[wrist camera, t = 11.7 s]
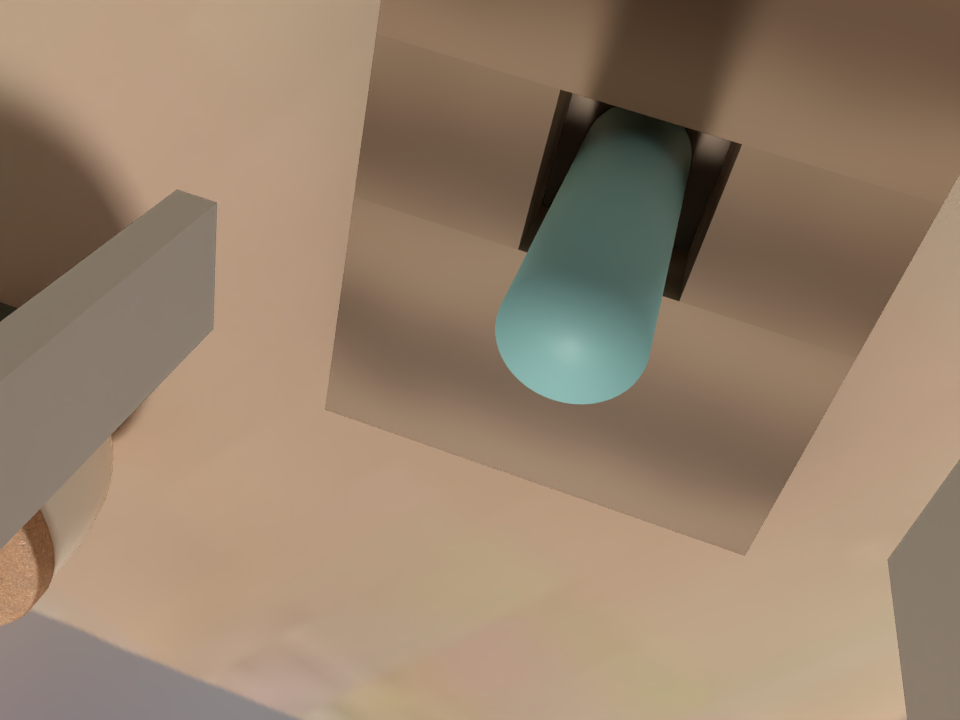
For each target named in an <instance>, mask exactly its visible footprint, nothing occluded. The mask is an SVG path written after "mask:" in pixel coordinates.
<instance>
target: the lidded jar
mask: <svg viewBox="0 0 960 720" xmlns="http://www.w3.org/2000/svg"><path fill="white" fill-rule="evenodd" d="M112 470H113V443H112V437H111V436H110V437H109V438H108V439H107V440H106V441H105V442H104V443H103V444H102V445H101V446H100V447H99V448H98V449H97V450H96V451H95V452H94V453H93V454H92V455H91V456H90V457H89V458H88V459H87V461H86V462H85V463H84V464H83V465H82V466H81V467H80V468H79V469H78V470H77V471H76V472H75V473H74V474H73V475H72V476H71V477H70V478H69V479H68V480H67V481H66V482H65V483H64V484H63V485H62V486H61V488H60V489H59V490H58V491H57V492H56V493H55V494H54V495H53V496H52V497H51V498H50V499H49V500H48V501H47V502H46V503H45V504H44V505H43V506H42V507H41V508H40V509H39V510H38V511H37V512H36V514H35V515H34V516H33V517H32V518H31V519H30V520H29V521H28V522H27V523H26V524H25V525H24V526H23V527H22V528H21V529H20V530H19V531H18V532H17V533H16V534H15V535H14V536H13V537H12V538H11V540H10V541H9V542H8V543H7V544H6V545H5V546H4V547H3V548H2V549H1V550H0V625H4V624H7V623H10V622H12V621H16V620H17V619H19V618H20V617H22V616H23V615H25V614H26V613H27V612H28V611H29V610H30V609H31V608H32V607H33V605H34V604H35V603H36V602H37V601H38V600H39V598H40V597H41V596H42V595H43V594H44V592H45V591H46V590H47V588H48V587H49V584H50V582H51V580H52V579H53V578H54V577H55V575H56V574H57V573H58V572H59V571H60V570H61V568H62V567H63V566H64V565H65V564H66V562H67V561H68V560H69V559H70V557H71V556H72V555H73V554H74V552H75V551H76V550H77V549H78V548H79V546H80V545H81V543H82V542H83V540H84V538H85V537H86V535H87V534H88V532H89V531H90V529H91V528H92V526H93V524H94V522H95V520H96V518H97V516H98V514H99V512H100V510H101V508H102V506H103V503H104V501H105V499H106V496H107V492H108V489H109V486H110V482H111V476H112Z"/></svg>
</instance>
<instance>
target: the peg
mask: <svg viewBox="0 0 960 720" xmlns="http://www.w3.org/2000/svg"><path fill="white" fill-rule="evenodd" d="M691 159H692V148H691V142H690V139H689V135H688V133H687V131H686V129H685V128H684V127H683V126H680V125H677V124H673V123H670V122H667V121H663V120H660V119H657V118H653V117H650V116H647V115H643V114H640V113H637V112H633V111H630V110H627V109H624V108H620V107H617V106H614V107H612V108H610V109H609V110H607V111H606V112H604V113H603V114H602V115H601V116H599V117H598V118H597V120H596V121H595V122H594V123H593V125H592V126H591V128H590V129H589V131H588V133H587V135H586V137H585V139H584V141H583V143H582V145H581V147H580V149H579V151H578V153H577V155H576V157H575V159H574V161H573V163H572V165H571V167H570V169H569V171H568V173H567V175H566V177H565V179H564V181H563V183H562V185H561V187H560V189H559V191H558V193H557V195H556V197H555V199H554V201H553V203H552V205H551V207H550V209H549V211H548V212H547V214H546V216H545V218H544V220H543V222H542V224H541V226H540V228H539V230H538V232H537V234H536V236H535V238H534V240H533V242H532V244H531V246H530V248H529V250H528V252H527V254H526V256H525V258H524V260H523V262H522V264H521V266H520V268H519V270H518V272H517V274H516V276H515V278H514V280H513V282H512V284H511V286H510V288H509V290H508V292H507V294H506V296H505V297H504V299H503V301H502V304H501V306H500V308H499V310H498V313H497V317H496V323H495V336H496V343H497V346H498V349H499V352H500V354H501V357H502V359H503V361H504V362H505V364H506V366H507V367H508V368H509V370H510V371H511V372H512V373H513V375H514V376H515V377H516V378H517V379H518V380H519V381H520V382H522V383H523V384H524V385H525V386H527V387H528V388H530V389H531V390H533V391H534V392H536V393H538V394H540V395H542V396H544V397H547V398H549V399H552V400H555V401H559V402H563V403H569V404H593V403H599V402H603V401H606V400H609V399H612V398H614V397H616V396H618V395H620V394H622V393H623V392H625V391H627V390H628V389H629V388H630V387H631V386H633V385H634V384H635V382H636V381H637V380H638V379H639V378H640V376H641V375H642V373H643V372H644V370H645V368H646V365H647V363H648V359H649V356H650V351H651V347H652V342H653V337H654V333H655V328H656V324H657V319H658V314H659V310H660V305H661V300H662V296H663V291H664V286H665V282H666V277H667V272H668V268H669V263H670V259H671V254H672V249H673V245H674V240H675V235H676V231H677V226H678V221H679V217H680V212H681V207H682V203H683V198H684V194H685V189H686V184H687V180H688V175H689V170H690V166H691Z"/></svg>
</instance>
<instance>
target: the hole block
mask: <svg viewBox="0 0 960 720" xmlns="http://www.w3.org/2000/svg"><path fill="white" fill-rule="evenodd" d="M572 93H574V94H577V95H581V96H584V97H587V98H590V99H594V100H597V101H600V102H604V103H607V104H610V105H614V106H617V107H620V108H624V109H627V110H630V111H633V112H637V113H640V114H643V115H647V116H650V117H653V118H657V119H660V120H663V121H667V122H670V123H673V124H677V125H680V126H683V127H686V128H690V129H693V130H696V131H700V132H703V133H706V134H710V135H713V136H716V137H720V138H723V139H726V140H729V141H732V142H731V145H730V147H729V150H728V152H727V155H726V157H725V160H724V163H723V165H722V168H721V170H720V173H719V175H718V178H717V180H716V183H715V186H714V188H713V191H712V193H711V196H710V198H709V201H708V203H707V206H706V208H705V211H704V214H703V216H702V219H701V221H700V224H699V226H698V229H697V231H696V234H695V236H694V239H693V242H692V244H691V247H690V249H689V252H687V251H684V250H681V249H677V248H674V247H673V249H672V254H671V259H670V263H669V268H668V272H667V277H666V282H665V286H664V291H663V296H662V300H661V305H660V310H659V314H658V319H657V324H656V328H655V333H654V337H653V342H652V347H651V351H650V356H649V359H648V363H647V365H646V368H645V370H644V372H643V373H642V375H641V376H640V378H639V379H638V380H637V381H636V382H635V384H634V385H633V386H631V387H630V388H629V389H628V390H627V391H625V392H623V393H622V394H620V395H618V396H616V397H614V398H612V399H609V400H606V401H603V402H599V403H593V404H569V403H563V402H559V401H555V400H552V399H549V398H547V397H544V396H542V395H540V394H538V393H536V392H534V391H533V390H531V389H530V388H528V387H527V386H525V385H524V384H523V383H522V382H520V381H519V380H518V379H517V378H516V377H515V376H514V375H513V373H512V372H511V371H510V370H509V368H508V367H507V366H506V364H505V362H504V361H503V359H502V357H501V354H500V352H499V349H498V346H497V343H496V336H495V323H496V317H497V313H498V310H499V308H500V306H501V304H502V301H503V299H504V297H505V296H506V294H507V292H508V290H509V288H510V286H511V284H512V282H513V280H514V278H515V276H516V274H517V272H518V270H519V268H520V266H521V264H522V262H523V260H524V258H525V256H526V254H527V252H528V250H529V248H530V246H531V244H532V242H533V240H534V238H535V236H536V234H537V232H538V230H539V228H540V226H541V224H542V222H543V220H544V218H545V216H546V214H547V212H548V211H549V209H550V208H548V207H545V206H541V205H542V202H543V198H544V194H545V191H546V187H547V183H548V180H549V176H550V172H551V169H552V165H553V161H554V158H555V154H556V150H557V147H558V143H559V139H560V136H561V132H562V128H563V125H564V121H565V117H566V114H567V110H568V106H569V103H570V99H571V95H572ZM959 175H960V0H381V4H380V11H379V19H378V26H377V33H376V41H375V48H374V55H373V62H372V70H371V77H370V84H369V92H368V99H367V106H366V114H365V121H364V128H363V136H362V143H361V150H360V157H359V165H358V172H357V179H356V187H355V194H354V201H353V209H352V216H351V223H350V231H349V238H348V245H347V253H346V260H345V267H344V274H343V282H342V289H341V296H340V304H339V311H338V318H337V326H336V333H335V340H334V348H333V355H332V362H331V369H330V377H329V384H328V391H327V399H326V406H325V410H328V411H331V412H333V413H336V414H339V415H342V416H345V417H348V418H351V419H354V420H356V421H359V422H362V423H365V424H368V425H371V426H374V427H376V428H379V429H382V430H385V431H388V432H391V433H394V434H397V435H399V436H402V437H405V438H408V439H411V440H414V441H417V442H420V443H422V444H425V445H428V446H431V447H434V448H437V449H440V450H443V451H445V452H448V453H451V454H454V455H457V456H460V457H463V458H465V459H468V460H471V461H474V462H477V463H480V464H483V465H486V466H488V467H491V468H494V469H497V470H500V471H503V472H506V473H509V474H511V475H514V476H517V477H520V478H523V479H526V480H529V481H531V482H534V483H537V484H540V485H543V486H546V487H549V488H552V489H554V490H557V491H560V492H563V493H566V494H569V495H572V496H575V497H577V498H580V499H583V500H586V501H589V502H592V503H595V504H598V505H600V506H603V507H606V508H609V509H612V510H615V511H618V512H620V513H623V514H626V515H629V516H632V517H635V518H638V519H641V520H643V521H646V522H649V523H652V524H655V525H658V526H661V527H664V528H666V529H669V530H672V531H675V532H678V533H681V534H684V535H687V536H689V537H692V538H695V539H698V540H701V541H704V542H707V543H709V544H712V545H715V546H718V547H721V548H724V549H727V550H730V551H732V552H735V553H738V554H741V555H744V556H745V555H746V553H747V551H748V550H749V548H750V546H751V544H752V542H753V541H754V539H755V537H756V535H757V534H758V532H759V530H760V528H761V526H762V525H763V523H764V521H765V519H766V518H767V516H768V514H769V512H770V510H771V509H772V507H773V505H774V503H775V502H776V500H777V498H778V496H779V494H780V493H781V491H782V489H783V487H784V486H785V484H786V482H787V480H788V478H789V477H790V475H791V473H792V471H793V470H794V468H795V466H796V464H797V462H798V461H799V459H800V457H801V455H802V454H803V452H804V450H805V448H806V446H807V445H808V443H809V441H810V439H811V438H812V436H813V434H814V432H815V431H816V429H817V427H818V425H819V423H820V422H821V420H822V418H823V416H824V415H825V413H826V411H827V409H828V407H829V406H830V404H831V402H832V400H833V399H834V397H835V395H836V393H837V391H838V390H839V388H840V386H841V384H842V383H843V381H844V379H845V377H846V375H847V374H848V372H849V370H850V368H851V367H852V365H853V363H854V361H855V359H856V358H857V356H858V354H859V352H860V351H861V349H862V347H863V345H864V343H865V342H866V340H867V338H868V336H869V335H870V333H871V331H872V329H873V327H874V326H875V324H876V322H877V320H878V319H879V317H880V315H881V313H882V311H883V310H884V308H885V306H886V304H887V303H888V301H889V299H890V297H891V295H892V294H893V292H894V290H895V288H896V287H897V285H898V283H899V281H900V279H901V278H902V276H903V274H904V272H905V271H906V269H907V267H908V265H909V263H910V262H911V260H912V258H913V256H914V255H915V253H916V251H917V249H918V247H919V246H920V244H921V242H922V240H923V239H924V237H925V235H926V233H927V231H928V230H929V228H930V226H931V224H932V223H933V221H934V219H935V217H936V215H937V214H938V212H939V210H940V208H941V207H942V205H943V203H944V201H945V200H946V198H947V196H948V194H949V192H950V191H951V189H952V187H953V185H954V184H955V182H956V180H957V178H958V176H959Z"/></svg>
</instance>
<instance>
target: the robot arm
mask: <svg viewBox="0 0 960 720" xmlns="http://www.w3.org/2000/svg"><path fill="white" fill-rule="evenodd" d="M216 219H217V202H214V201H211V200H208V199H205V198H202V197H198V196H195V195H192V194H189V193H186V192H183V191H180V190H176V191H174V192H173V193H172V194H170V195H169V196H168V197H166V198H165V199H164V200H162V201H161V202H160V203H158V204H157V205H155V206H154V207H153V208H151V209H150V210H149V211H147V212H146V213H145V214H143V215H142V216H141V217H139V218H138V219H137V220H135V221H134V222H133V223H131V224H130V225H129V226H127V227H126V228H125V229H123V230H122V231H121V232H119V233H118V234H117V235H115V236H114V237H113V238H111V239H110V240H109V241H107V242H106V243H105V244H103V245H102V246H101V247H99V248H98V249H97V250H95V251H94V252H93V253H91V254H90V255H89V256H87V257H86V258H85V259H83V260H82V261H81V262H79V263H78V264H77V265H75V266H74V267H73V268H71V269H70V270H69V271H67V272H66V273H65V274H63V275H62V276H61V277H59V278H58V279H57V280H55V281H54V282H53V283H51V284H50V285H49V286H47V287H46V288H45V289H43V290H42V291H41V292H39V293H38V294H37V295H35V296H34V297H33V298H31V299H30V300H29V301H27V302H26V303H25V304H23V305H22V306H21V307H19V308H15V307H12V306H9V305H6V304H3V303H0V550H1V549H2V548H3V547H4V546H5V545H6V544H7V543H8V542H9V541H10V540H11V538H12V537H13V536H14V535H15V534H16V533H17V532H18V531H19V530H20V529H21V528H22V527H23V526H24V525H25V524H26V523H27V522H28V521H29V520H30V519H31V518H32V517H33V516H34V515H35V514H36V512H37V511H38V510H39V509H40V508H41V507H42V506H43V505H44V504H45V503H46V502H47V501H48V500H49V499H50V498H51V497H52V496H53V495H54V494H55V493H56V492H57V491H58V490H59V489H60V488H61V486H62V485H63V484H64V483H65V482H66V481H67V480H68V479H69V478H70V477H71V476H72V475H73V474H74V473H75V472H76V471H77V470H78V469H79V468H80V467H81V466H82V465H83V464H84V463H85V462H86V461H87V459H88V458H89V457H90V456H91V455H92V454H93V453H94V452H95V451H96V450H97V449H98V448H99V447H100V446H101V445H102V444H103V443H104V442H105V441H106V440H107V439H108V438H109V437H110V436H111V435H112V433H113V432H114V431H115V430H116V429H117V428H118V427H119V426H120V425H121V424H122V423H123V422H124V421H125V420H126V419H127V418H128V417H129V416H130V415H131V414H132V413H133V412H134V411H135V410H136V409H137V407H138V406H139V405H140V404H141V403H142V402H143V401H144V400H145V399H146V398H147V397H148V396H149V395H150V394H151V393H152V392H153V391H154V390H155V389H156V388H157V387H158V386H159V385H160V384H161V383H162V382H163V380H164V379H165V378H166V377H167V376H168V375H169V374H170V373H171V372H172V371H173V370H174V369H175V368H176V367H177V366H178V365H179V364H180V363H181V362H182V361H183V360H184V359H185V358H186V357H187V356H188V354H189V353H190V352H191V351H192V350H193V349H194V348H195V347H196V346H197V345H198V344H199V343H200V342H201V341H202V340H203V339H204V338H205V337H206V336H207V335H208V334H209V333H210V332H211V331H212V330H213V321H214V287H215V253H216ZM888 566H889V574H890V583H891V591H892V599H893V607H894V615H895V623H896V632H897V640H898V648H899V656H900V664H901V672H902V681H903V689H904V697H905V705H906V713H907V720H960V460H959V461H958V463H957V464H956V465H955V467H954V468H953V470H952V471H951V472H950V474H949V475H948V476H947V478H946V479H945V481H944V482H943V483H942V485H941V486H940V488H939V489H938V490H937V492H936V493H935V495H934V496H933V497H932V499H931V500H930V502H929V503H928V504H927V506H926V507H925V508H924V510H923V511H922V513H921V514H920V515H919V517H918V518H917V520H916V521H915V522H914V524H913V525H912V527H911V528H910V529H909V531H908V532H907V534H906V535H905V536H904V538H903V539H902V540H901V542H900V543H899V545H898V546H897V547H896V549H895V550H894V552H893V553H892V554H891V556H890V557H889V559H888Z"/></svg>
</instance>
